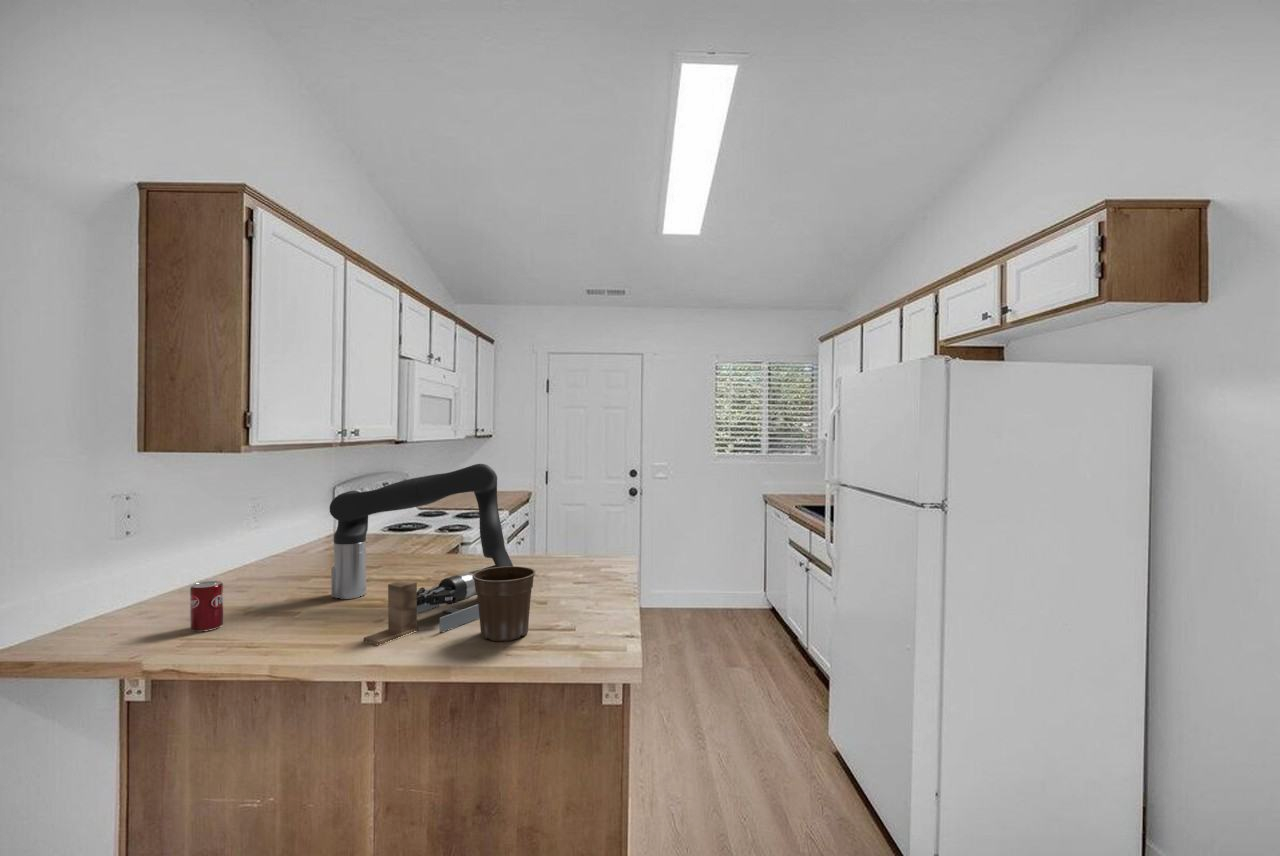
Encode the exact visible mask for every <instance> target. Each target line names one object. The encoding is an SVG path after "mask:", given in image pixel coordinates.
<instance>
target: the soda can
mask: <svg viewBox="0 0 1280 856" xmlns="http://www.w3.org/2000/svg"><path fill="white" fill-rule="evenodd" d="M189 601H190V604H189V605H190V607H189V613H190V614H189V617H190V619H189V620H190V621H189V622H190V623H189V625H190V630H191V631H192V630H193V631H192V632H194V631H205V630H210V629H215V628H217V627H220V626H221V625H222V626H223V625H224V583H223V582H222V581H220V580H208V581H207V580H206V581H200V582H197V583H194V584H192V585H191V586H190V587H189ZM222 626H221V627H222ZM221 627H220V628H221Z"/></svg>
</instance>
